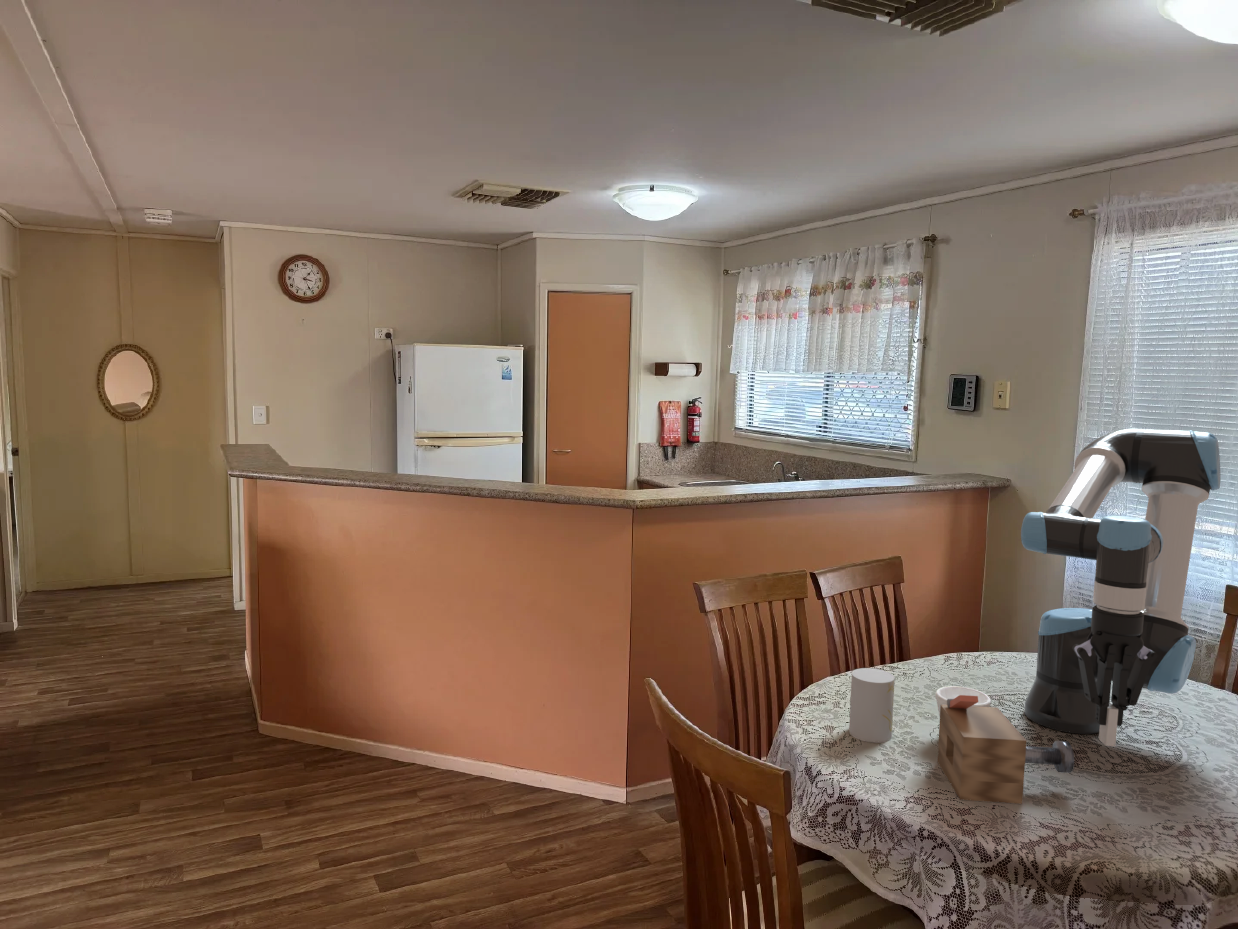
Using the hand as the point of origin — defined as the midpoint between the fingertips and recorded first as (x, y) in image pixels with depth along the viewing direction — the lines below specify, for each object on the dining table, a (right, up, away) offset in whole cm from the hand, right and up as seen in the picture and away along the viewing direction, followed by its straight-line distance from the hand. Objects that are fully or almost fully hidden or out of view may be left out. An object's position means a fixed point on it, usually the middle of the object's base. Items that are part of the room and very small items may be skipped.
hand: (1106, 742), depth 143 cm
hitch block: (-21, -8, +3) cm, 22 cm away
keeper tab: (-23, +5, +5) cm, 24 cm away
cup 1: (-34, -6, +23) cm, 41 cm away
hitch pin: (-13, -5, +2) cm, 15 cm away
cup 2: (-17, -7, +20) cm, 27 cm away
